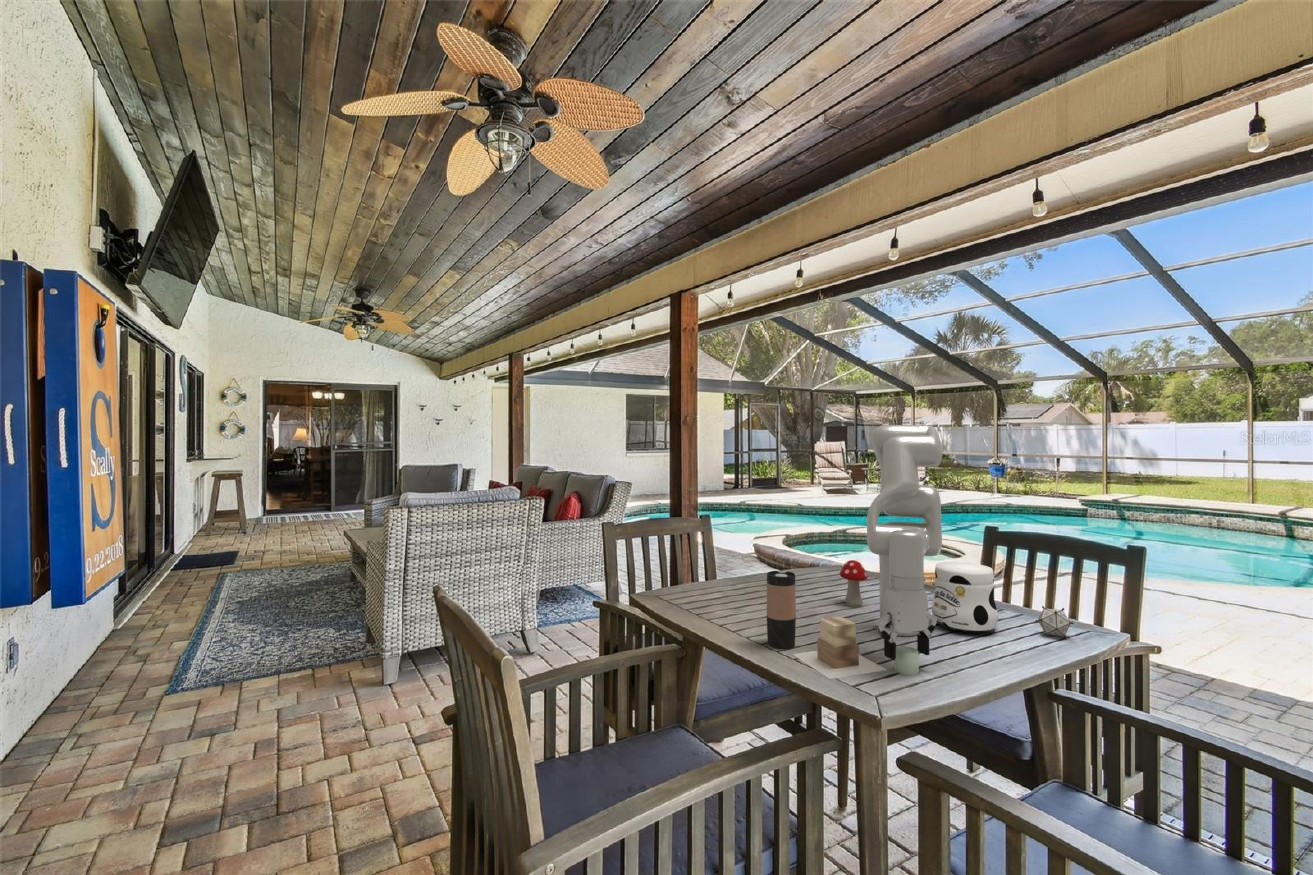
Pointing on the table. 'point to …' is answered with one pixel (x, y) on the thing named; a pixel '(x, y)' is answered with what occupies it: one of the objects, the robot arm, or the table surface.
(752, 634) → the table surface
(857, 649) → the tower base block
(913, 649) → the sage cylinder
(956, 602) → the milk container
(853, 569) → the decorative mushroom
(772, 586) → the travel mug
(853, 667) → the stone tile
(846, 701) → the table surface
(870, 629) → the table surface
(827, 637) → the tower top block
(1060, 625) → the beige icosahedron ornament
